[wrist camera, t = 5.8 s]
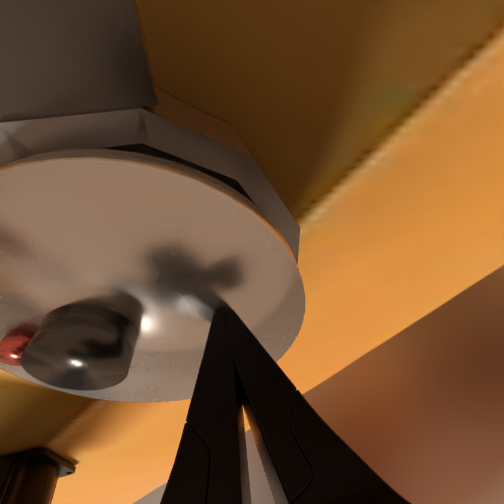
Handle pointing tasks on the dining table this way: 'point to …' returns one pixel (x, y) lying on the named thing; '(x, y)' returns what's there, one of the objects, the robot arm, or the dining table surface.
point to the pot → (110, 98)
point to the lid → (132, 273)
